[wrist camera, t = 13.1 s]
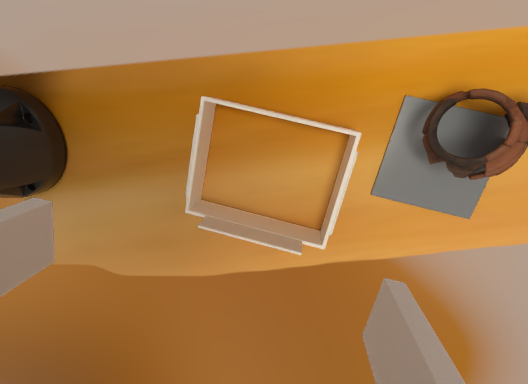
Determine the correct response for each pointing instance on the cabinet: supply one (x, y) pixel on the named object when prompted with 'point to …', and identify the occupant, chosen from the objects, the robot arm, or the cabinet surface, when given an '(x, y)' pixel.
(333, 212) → the carton
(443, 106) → the pottery mug
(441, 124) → the slate mat
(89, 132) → the cabinet surface
